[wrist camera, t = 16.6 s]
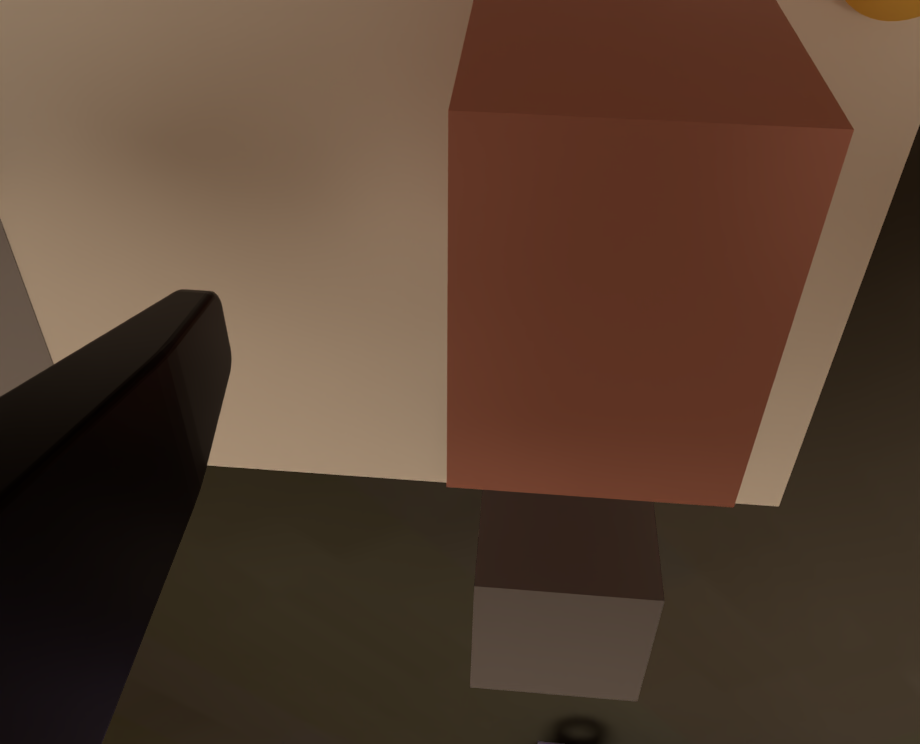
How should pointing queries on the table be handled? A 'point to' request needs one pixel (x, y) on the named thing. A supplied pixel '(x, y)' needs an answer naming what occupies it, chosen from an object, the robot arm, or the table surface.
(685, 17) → the block
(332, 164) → the beige rectangular board
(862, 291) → the table surface
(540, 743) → the computer part
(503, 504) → the cylinder
